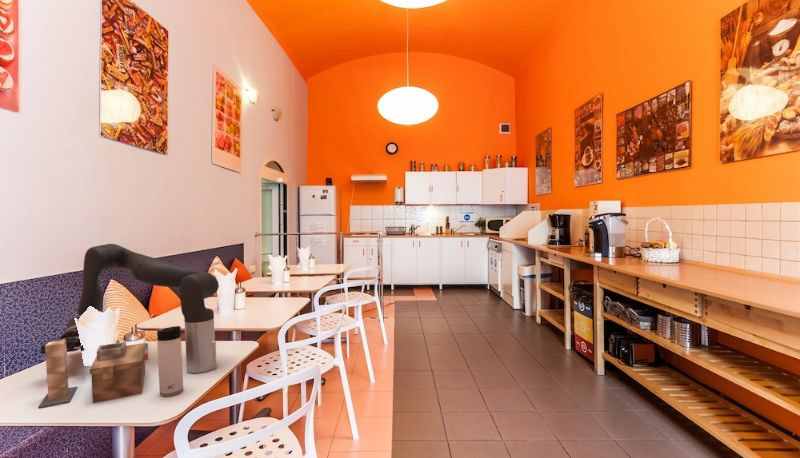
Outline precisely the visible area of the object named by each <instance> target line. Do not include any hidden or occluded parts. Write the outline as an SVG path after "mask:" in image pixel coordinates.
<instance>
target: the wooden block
mask: <svg viewBox="0 0 800 458" xmlns="http://www.w3.org/2000/svg"><path fill="white" fill-rule="evenodd" d="M45 352H46V355H45V366H46V383H47V385H46V386H47V393H48V400H52V399H58V398H63V397H66V396H67V394H68V392H69V388H70V387H69V375H68V370H69V369H68V356H67V352H68V351H66V340H62V341H59V340H55V341H50V342H49V343H48V344H47V345H46V346H45Z"/></svg>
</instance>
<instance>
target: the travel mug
mask: <svg viewBox="0 0 800 458" xmlns="http://www.w3.org/2000/svg"><path fill="white" fill-rule="evenodd" d="M181 330H182V329H181V326H179V325H177V326H175V325H174V326H169V327H165V328H163V329H162V330H161V329H160V330H157V331H156V336H157V343H156V344H157V363H158V382H159V383H158V384H159V396H161V397H164V398H165V397H169V398H170V397H174V396H176V395H179V394H181V393H182V392H183V391H184V379H183V378H184V374H183V372H184V371H183V353H182V351H183V350H182V335H181Z"/></svg>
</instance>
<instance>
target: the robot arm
mask: <svg viewBox="0 0 800 458" xmlns="http://www.w3.org/2000/svg"><path fill="white" fill-rule="evenodd" d="M115 268H119V269H125V270H128V271H130V272H131V275H132V277H133V278H134V279H136V280H137V281H139V282H142V283H145V284H148V285H151V286H156V287H164V288H166V287H167V288H168V287H170V288H179V299H180V300H179V301H180V309H181V313H182V315H183V319H184V320H183V321H184V337H185V338H184V339H185V359H186V360H185V361H186V364H185V365H186V372H187V373H189V374H200V373H205V372H209V371H212V370H215V369H217V367H218V366H217V365H218V363H217V347H216V345H217V343H216V336H215V334H216V333H215V332H216V331H215V315H214V314H215V313H214V312H215V311H214V310H213V309H212V308H208V307H206V306H205V305H206V304H205V299H209V298H210V297H212V296H214V295H215V294H217V292H218V290H219V288H220V287H219V286H220V285H219V282H218V281H219V280H217V279H218V278H217V277H216V276H215V275H214V274H212V273H210V272H207V271H203V270H202V271H201V270H196V269H190V268H188V267H187V268H186V267H184V266H180V265H178V264H175V263H172V262H171V263H170V262H168V261H165V260H162V259H160V258H156V257H152V256H148V255H145V254H142V253H138V252H134V251H132V250H130V249H128V248H126V247H124V246H121V245H119V244H116V243H106V244H100V245H95V246H92V247H90V248H88V249H87V250H86V252H85V254H84V258H83V271H82V289H81V294H80V295H81V296H80V299H79V303H78V304H77V305H78V306H77V310H76V312H77V314H78V316H74V317H72V318H70V319H69V321H68V322H67V325H66V330H65V331H64V332H63V333H62V335H61V336H60V338H59V340H58V341H62V340H66V352H70V353H72V352H76V351H79V350H80V352H84V351H85V349H84V348H83V345H82V346H81V343H80V339H79V334H78V330H77V326H76V323H75V320H74V318H77V319H79V318H80V317H82V316H81V315H82V314H83V313H84V312H85V311H86V310H87V308H88V307H89V306H92V307H94V308H95V309H97V310H98V311H99V312H101V308H102V306H103V305H102V304H103V301H104V291H103V289H102V287H101V285H100V282H99V277H100V275H101V272H102V271H106V270H111V269H115ZM49 342H51V341H49V340H47V341H45V342H44V343H43V344H42V345H40V354H41V355H44V356H46V352H45V346H46V345H47V344H48V343H49Z"/></svg>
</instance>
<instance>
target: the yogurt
mask: <svg viewBox="0 0 800 458" xmlns="http://www.w3.org/2000/svg"><path fill="white" fill-rule="evenodd" d="M144 343H145V351H144V353H145V360H146V361H147V360H149V343H148V342H144Z"/></svg>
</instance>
